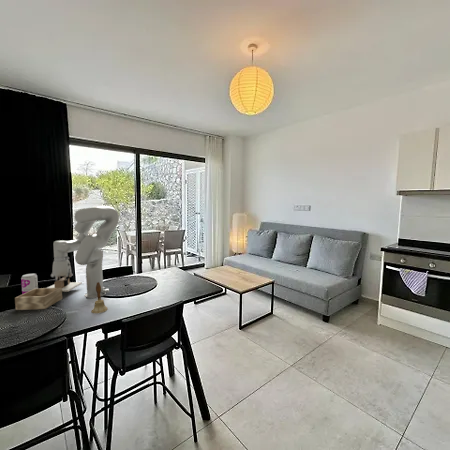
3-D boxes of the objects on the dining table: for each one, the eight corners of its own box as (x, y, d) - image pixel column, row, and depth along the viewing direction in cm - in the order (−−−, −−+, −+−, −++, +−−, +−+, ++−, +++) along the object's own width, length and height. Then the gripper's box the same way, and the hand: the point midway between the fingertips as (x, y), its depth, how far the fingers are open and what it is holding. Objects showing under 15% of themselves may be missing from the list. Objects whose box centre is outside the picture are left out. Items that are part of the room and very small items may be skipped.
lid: (81, 283, 178) (81, 276, 178) (68, 291, 161) (67, 283, 161) (57, 284, 177) (56, 276, 177) (40, 292, 160) (40, 283, 160)
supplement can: (29, 300, 158) (28, 276, 157) (19, 299, 159) (17, 276, 158) (41, 295, 165) (40, 273, 165) (31, 295, 167) (29, 273, 166)
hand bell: (110, 310, 139) (108, 282, 138) (94, 315, 133) (92, 285, 132) (104, 306, 145) (103, 279, 144) (89, 310, 139) (87, 282, 138)
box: (62, 300, 157) (61, 287, 156) (45, 310, 141) (44, 296, 140) (35, 301, 156) (35, 288, 155) (15, 311, 140) (14, 297, 139)
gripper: (76, 257, 172) (78, 283, 173) (51, 258, 171) (53, 284, 172) (70, 259, 164) (72, 287, 166) (44, 260, 163) (45, 287, 165)
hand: (62, 285), depth 169 cm, fingers closed on lid, 4 cm apart
